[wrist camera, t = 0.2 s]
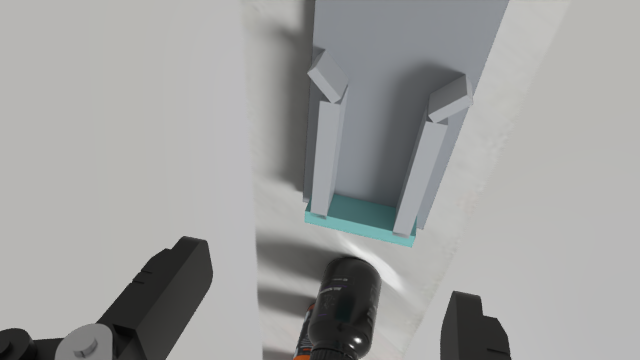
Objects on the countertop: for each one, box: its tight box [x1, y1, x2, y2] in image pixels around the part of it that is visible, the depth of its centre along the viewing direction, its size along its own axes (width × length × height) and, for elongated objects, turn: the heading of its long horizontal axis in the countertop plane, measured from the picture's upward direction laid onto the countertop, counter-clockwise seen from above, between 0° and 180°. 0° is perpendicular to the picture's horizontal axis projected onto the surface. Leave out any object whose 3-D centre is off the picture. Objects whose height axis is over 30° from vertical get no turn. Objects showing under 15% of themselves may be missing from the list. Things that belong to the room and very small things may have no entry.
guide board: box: [303, 0, 509, 247], centre depth 31 cm, size 21×12×4 cm, turn 176°
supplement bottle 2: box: [308, 258, 381, 360], centre depth 43 cm, size 7×7×12 cm
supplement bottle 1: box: [293, 304, 315, 360], centre depth 50 cm, size 6×6×11 cm
